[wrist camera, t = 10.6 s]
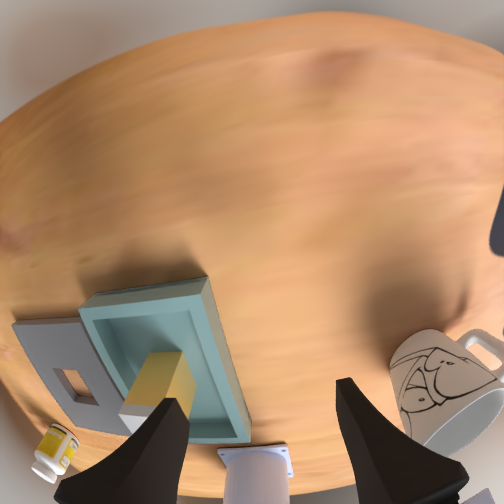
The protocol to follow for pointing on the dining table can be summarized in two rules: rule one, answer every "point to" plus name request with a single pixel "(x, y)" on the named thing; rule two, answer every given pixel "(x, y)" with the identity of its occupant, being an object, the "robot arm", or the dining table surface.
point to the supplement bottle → (55, 452)
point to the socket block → (73, 358)
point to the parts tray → (172, 349)
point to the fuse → (158, 387)
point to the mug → (446, 388)
